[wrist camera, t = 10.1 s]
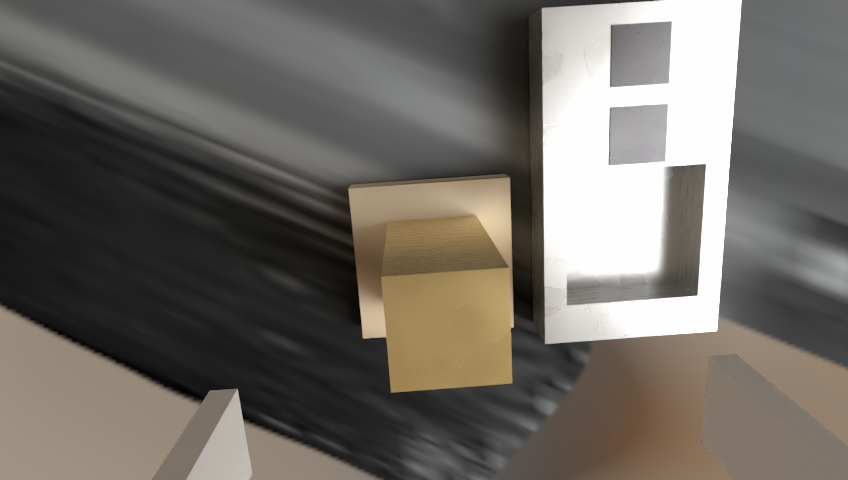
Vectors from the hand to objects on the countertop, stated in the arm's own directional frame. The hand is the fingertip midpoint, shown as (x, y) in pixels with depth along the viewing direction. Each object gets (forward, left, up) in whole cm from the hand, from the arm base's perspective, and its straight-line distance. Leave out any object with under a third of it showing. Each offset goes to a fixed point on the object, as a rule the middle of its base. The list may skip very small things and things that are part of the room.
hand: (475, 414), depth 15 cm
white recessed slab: (-4, +11, -18) cm, 21 cm away
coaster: (0, 0, -18) cm, 18 cm away
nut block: (0, 0, -17) cm, 17 cm away
